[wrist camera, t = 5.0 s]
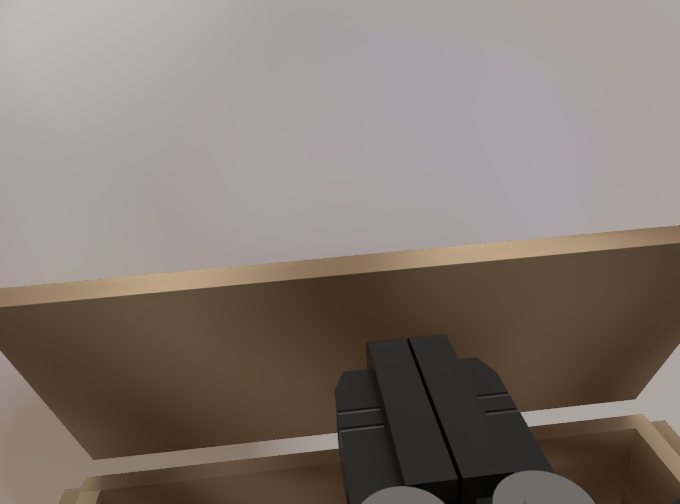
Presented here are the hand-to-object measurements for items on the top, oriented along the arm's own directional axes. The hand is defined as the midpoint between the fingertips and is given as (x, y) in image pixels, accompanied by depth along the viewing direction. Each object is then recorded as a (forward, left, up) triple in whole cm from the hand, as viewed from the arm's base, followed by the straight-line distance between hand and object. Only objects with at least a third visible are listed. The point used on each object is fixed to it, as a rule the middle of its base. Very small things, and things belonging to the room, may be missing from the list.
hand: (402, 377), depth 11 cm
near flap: (+2, -3, -2) cm, 4 cm away
